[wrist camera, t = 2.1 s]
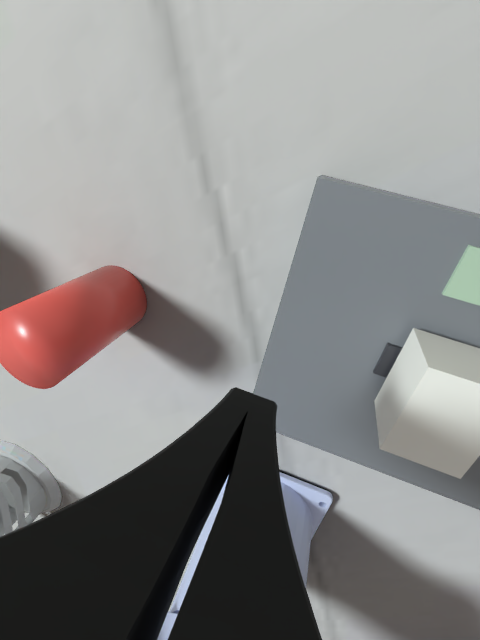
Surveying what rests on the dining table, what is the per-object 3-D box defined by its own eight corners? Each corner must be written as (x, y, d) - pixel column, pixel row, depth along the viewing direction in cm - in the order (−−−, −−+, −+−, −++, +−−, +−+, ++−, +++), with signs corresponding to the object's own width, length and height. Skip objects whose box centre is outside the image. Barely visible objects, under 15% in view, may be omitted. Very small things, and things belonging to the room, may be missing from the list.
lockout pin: (144, 333, 22) (64, 400, 16) (90, 314, 22) (-6, 371, 16) (149, 276, 20) (60, 327, 14) (90, 257, 20) (-19, 298, 14)
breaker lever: (441, 424, 15) (460, 479, 12) (374, 400, 16) (379, 448, 13) (490, 352, 13) (525, 398, 11) (413, 327, 14) (428, 367, 11)
